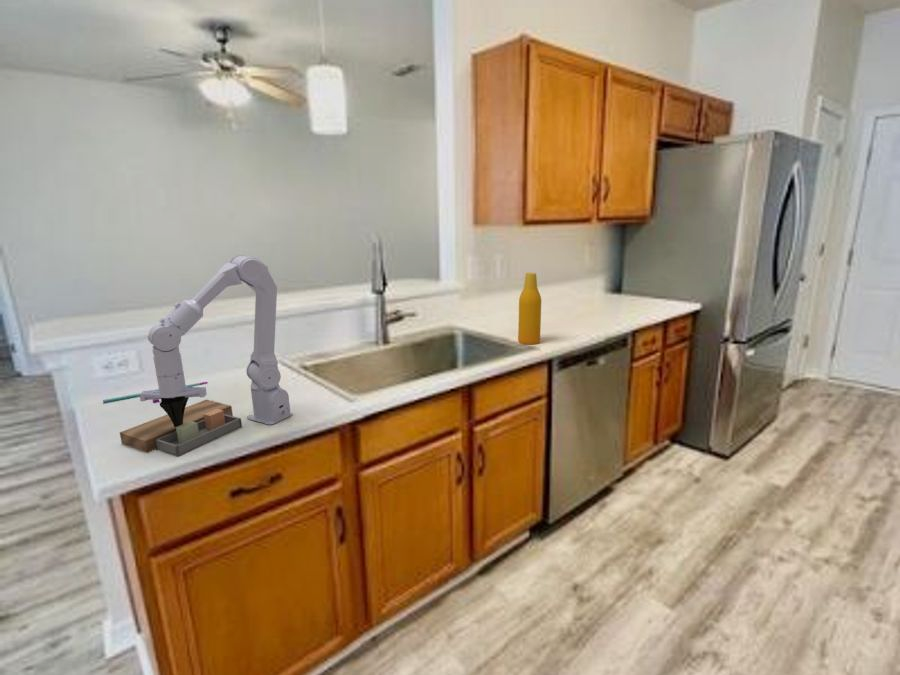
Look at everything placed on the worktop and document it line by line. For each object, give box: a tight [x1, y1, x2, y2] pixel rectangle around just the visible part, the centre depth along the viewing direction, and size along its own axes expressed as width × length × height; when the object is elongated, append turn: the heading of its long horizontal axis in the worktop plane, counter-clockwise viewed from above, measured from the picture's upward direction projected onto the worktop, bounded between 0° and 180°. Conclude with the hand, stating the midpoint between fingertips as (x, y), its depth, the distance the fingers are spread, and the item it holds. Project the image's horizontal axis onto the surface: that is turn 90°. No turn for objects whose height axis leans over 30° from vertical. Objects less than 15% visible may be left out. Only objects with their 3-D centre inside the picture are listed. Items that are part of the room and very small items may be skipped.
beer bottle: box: [517, 272, 542, 346], centre depth 205 cm, size 9×9×29 cm
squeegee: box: [102, 381, 209, 405], centre depth 153 cm, size 29×2×10 cm
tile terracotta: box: [204, 409, 225, 430], centre depth 130 cm, size 4×4×2 cm
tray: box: [155, 414, 243, 458], centre depth 124 cm, size 8×18×2 cm, turn 152°
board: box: [119, 399, 234, 454], centre depth 130 cm, size 10×24×3 cm, turn 152°
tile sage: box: [176, 421, 199, 443], centre depth 122 cm, size 4×4×2 cm
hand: (178, 425), depth 123 cm, fingers closed
